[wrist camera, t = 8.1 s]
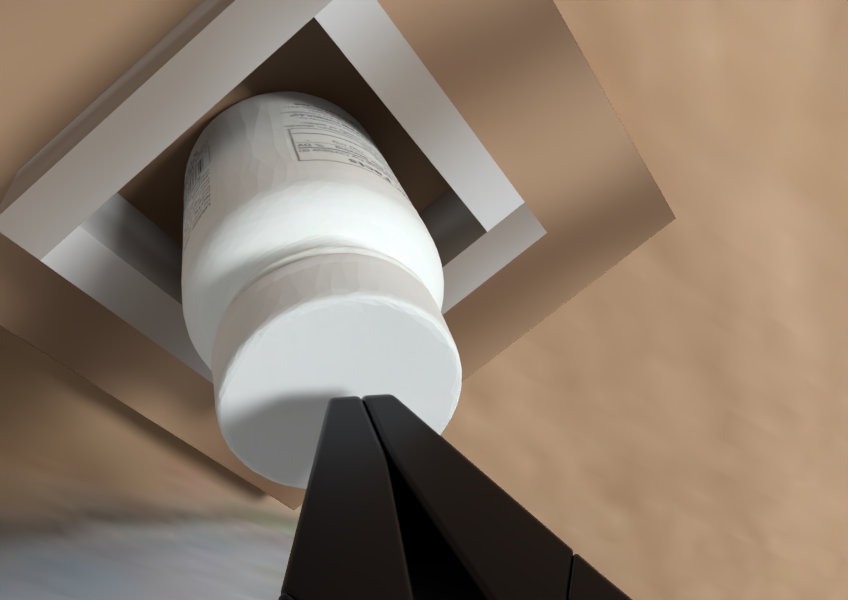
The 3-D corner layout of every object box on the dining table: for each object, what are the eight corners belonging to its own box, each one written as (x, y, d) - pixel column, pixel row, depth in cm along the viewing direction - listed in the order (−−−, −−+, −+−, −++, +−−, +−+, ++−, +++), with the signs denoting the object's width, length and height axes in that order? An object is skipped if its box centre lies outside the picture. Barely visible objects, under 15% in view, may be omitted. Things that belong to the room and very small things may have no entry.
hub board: (652, 200, 21) (732, 261, 18) (289, 481, 22) (304, 579, 19) (265, -467, 11) (292, -577, 8) (-287, 100, 13) (-426, 174, 10)
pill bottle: (249, 299, 17) (280, 558, 11) (142, 145, 15) (103, 367, 8) (410, 218, 17) (533, 431, 11) (331, 51, 15) (433, 201, 8)
